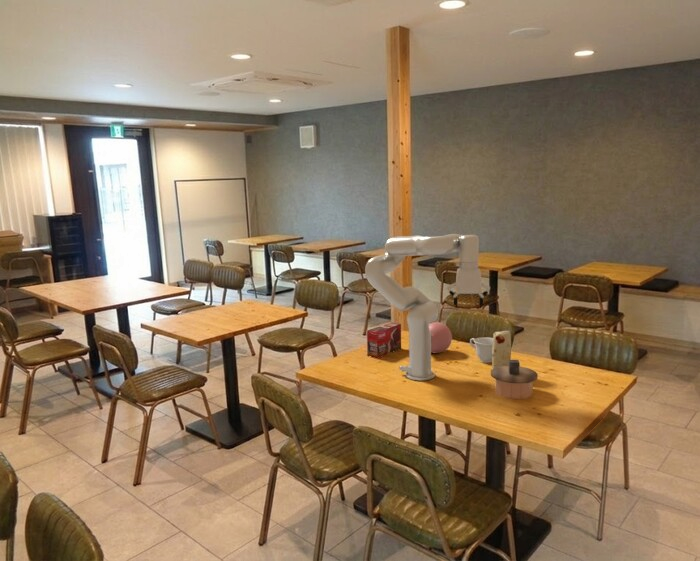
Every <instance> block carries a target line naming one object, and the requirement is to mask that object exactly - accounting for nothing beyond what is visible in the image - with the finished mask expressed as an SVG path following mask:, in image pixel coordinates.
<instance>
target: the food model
mask: <svg viewBox="0 0 700 561" xmlns="http://www.w3.org/2000/svg"><path fill="white" fill-rule="evenodd" d="M511 336H512V335H511V331H510V330H502V331H494V332H493V337H492V338H493V347H492V362H491V364H492V366H491V367H492V369H493V368H496V367H500V366H509V359H510V360H512V359H511V357H512V337H511ZM492 369H491V370H492Z"/></svg>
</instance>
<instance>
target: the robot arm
mask: <svg viewBox="0 0 700 561" xmlns="http://www.w3.org/2000/svg"><path fill="white" fill-rule="evenodd" d="M479 243H480V240H479V237H478V235H476V234H460V233H459V234H458V233H449V234H444V235H439V236H437V235H436V236H422V235H419V234H418V235H406V236H405V235H399V236H398V235H397V236H392V237H390V238H388V239H387V240H386V242H385V244H384V250H385V253H383V254H380V255H376V256H373V257H371V258H369V260H368V261H366V264H365V267H364V268H365V269H364V271H365V272H364V273H365V277H366V280H367V281H368V283H369V284H370V285H371V287H373V288H374V289H375V290H376V291H377V292H378V293H380V294H381V296H383V297H384V298H385V299H386V300H387V301H388V302H389V303H390V304H391V305H392V306H393V307H394V308H395V309H396V310H398V311H407V310H409V309H410V310H409V311H408V313H407V317H406V323H407V326H408V327H407V329H408V347H409V348H408V356H409V358H408V359H409V360H408V361H409V362H408V365H399V368H398V370H399V371H401V372H406V373H405V377H406V378H407V379H410V380H413V381H421V382H423V381H428V380H431V379H434V377H435V375H436V374H435V372H434V371H432V352H431V333H430V329H429V324H430V323H433V322H436V320H437V319H438V317H439V312H440V311H439V309H438V307H437V305H436V304H435V302H433V301H432V300H431V299H430V298H429V297H427V296H426V294H424V293H423V292H422V290H420V289H419V288H417V287H414V286H405V287H403V286H401V285H400V284H399V283H398V282H397V281H396V280H395V279H394V278H392V277H390V276H388V275H387V273H391V272H393V271H394V270H396V269H397V267H398V266H399V265H400V264H401V263H402V261H404V259H405V258H406V257H409V256H411V257H412V256H413V257H415V256H437V255H438V256H440V255H443V256H444V255H450V254H452V253H456V252H459V256H458V257H459V260H458V262H455V267H458V268H457V269H456V278H455V282H453V283H451V284H450V285H447V287H446V290H447V291H448V293H449V294H450V295H451V296H452V297H453V306H455V308H458V296H459V295H460V294H461V295H478V296H479V298H478V308H480V309H482V306H484V298H485V297H486V296H488V294H489V292H490V290H491V286H489V285H488V284H485V283H484V282H482V271H481V269H480V268H479V246H480V245H479ZM452 288H455V292H454V291H453V290H452ZM482 288H484V289H485V290H484V291H483V292H482Z"/></svg>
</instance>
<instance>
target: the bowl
mask: <svg viewBox="0 0 700 561" xmlns="http://www.w3.org/2000/svg"><path fill="white" fill-rule="evenodd" d="M494 379H495V378H494ZM533 382H534V381H533ZM533 382H529V383H508V382H503V381H499V380H497V379H495V383H494V384H495V388H494V390H495V394H496V395H499V396H501V397H503V398H507V399H514V400H516V399H517V400H522V399H527V398H530V397H531V396H532V395H533V389H534V384H533Z"/></svg>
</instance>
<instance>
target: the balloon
mask: <svg viewBox="0 0 700 561" xmlns="http://www.w3.org/2000/svg"><path fill="white" fill-rule="evenodd" d="M429 329H430V333H431V354H432V353H433V354H440V353H443V352H445V351H446V350H448V349H449V348H450V346H451V344H452V341H453V334H452V331H451V330H450V328H449V327H448V325H446V324H444V323H442V322H439V321H434V322H432V323H430V324H429Z"/></svg>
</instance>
